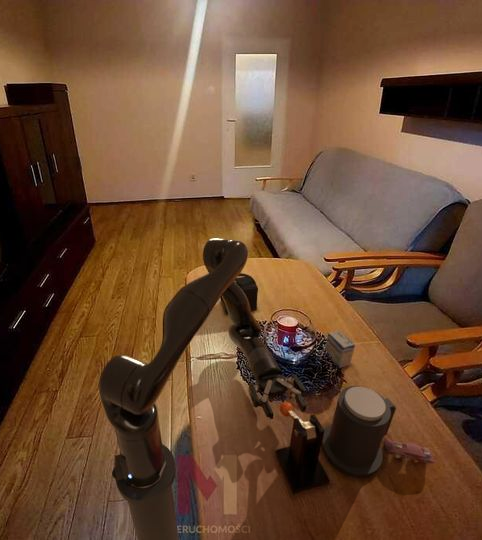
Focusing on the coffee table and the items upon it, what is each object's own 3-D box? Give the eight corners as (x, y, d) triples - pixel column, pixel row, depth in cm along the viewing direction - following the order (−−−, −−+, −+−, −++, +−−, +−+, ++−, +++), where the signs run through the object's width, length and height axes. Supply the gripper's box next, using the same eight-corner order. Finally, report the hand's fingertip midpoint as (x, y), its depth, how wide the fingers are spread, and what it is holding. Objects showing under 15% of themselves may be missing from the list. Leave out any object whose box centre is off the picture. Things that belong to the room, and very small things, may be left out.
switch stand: (274, 452, 86) (280, 410, 78) (308, 444, 88) (316, 402, 80) (292, 494, 78) (300, 451, 70) (329, 483, 80) (340, 440, 72)
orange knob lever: (278, 414, 88) (276, 401, 88) (290, 411, 89) (289, 398, 89) (304, 442, 74) (303, 427, 74) (319, 439, 75) (317, 423, 75)
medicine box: (323, 352, 116) (327, 332, 112) (334, 349, 118) (338, 329, 113) (339, 369, 110) (343, 348, 106) (350, 365, 111) (355, 344, 107)
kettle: (341, 485, 79) (356, 435, 70) (311, 431, 91) (320, 383, 82) (398, 468, 82) (419, 419, 73) (362, 419, 94) (376, 371, 85)
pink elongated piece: (383, 457, 86) (391, 454, 80) (383, 438, 88) (390, 433, 83) (428, 469, 83) (439, 466, 78) (426, 448, 86) (437, 444, 80)
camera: (218, 300, 144) (217, 269, 137) (250, 296, 146) (251, 265, 139) (223, 316, 135) (223, 283, 128) (258, 311, 137) (260, 279, 130)
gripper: (240, 361, 96) (262, 409, 83) (288, 352, 99) (316, 396, 85) (239, 381, 100) (260, 429, 86) (285, 371, 103) (312, 417, 89)
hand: (288, 413), depth 86 cm, fingers open, 8 cm apart
